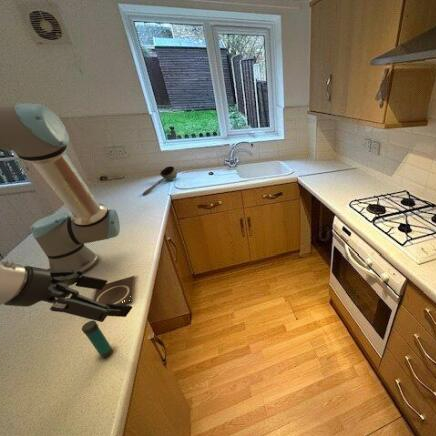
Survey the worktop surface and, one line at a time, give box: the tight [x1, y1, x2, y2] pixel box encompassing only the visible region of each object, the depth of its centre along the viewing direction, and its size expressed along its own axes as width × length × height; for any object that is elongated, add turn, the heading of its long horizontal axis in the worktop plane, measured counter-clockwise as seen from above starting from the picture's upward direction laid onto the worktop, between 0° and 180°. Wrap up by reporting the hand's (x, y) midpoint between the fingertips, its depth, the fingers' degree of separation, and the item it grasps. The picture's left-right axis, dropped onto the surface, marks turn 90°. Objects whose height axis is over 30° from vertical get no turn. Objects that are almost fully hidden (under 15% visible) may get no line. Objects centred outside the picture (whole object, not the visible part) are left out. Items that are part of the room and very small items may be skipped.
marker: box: [81, 320, 114, 359], centre depth 64 cm, size 3×3×12 cm
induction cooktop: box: [93, 275, 136, 305], centre depth 86 cm, size 12×14×1 cm
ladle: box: [142, 165, 178, 196], centre depth 184 cm, size 12×38×10 cm, turn 171°
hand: (115, 297), depth 64 cm, fingers open, 13 cm apart
